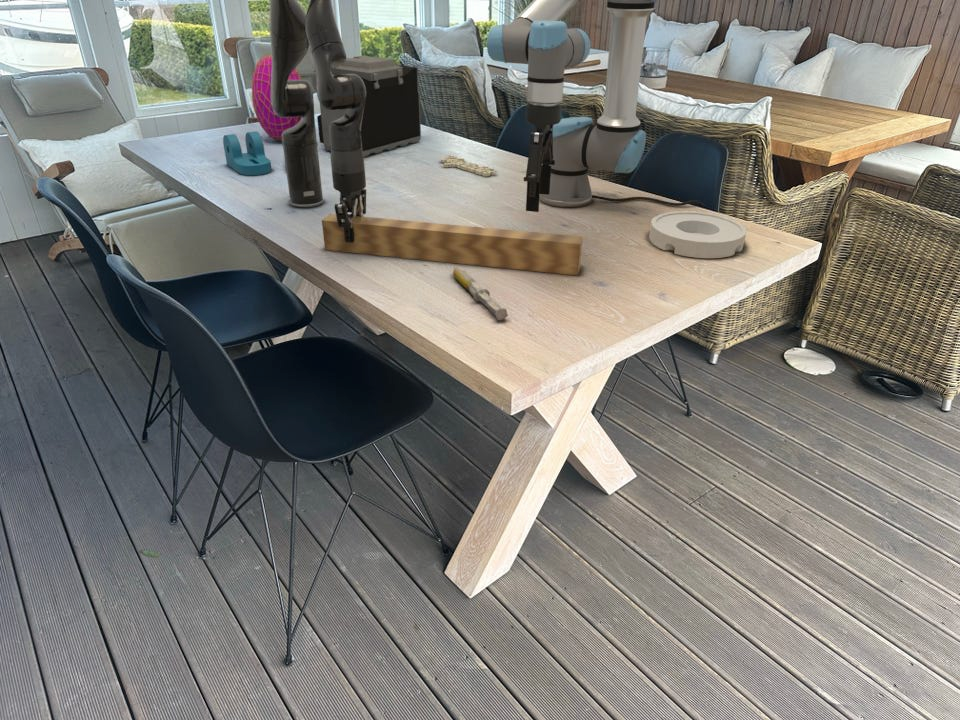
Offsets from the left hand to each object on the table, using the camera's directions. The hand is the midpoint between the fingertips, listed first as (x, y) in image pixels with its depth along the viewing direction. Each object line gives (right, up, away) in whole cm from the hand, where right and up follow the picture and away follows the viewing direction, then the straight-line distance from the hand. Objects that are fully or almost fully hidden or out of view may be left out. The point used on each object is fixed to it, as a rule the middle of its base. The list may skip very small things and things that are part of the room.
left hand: (354, 237), depth 166 cm
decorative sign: (+26, +35, +66) cm, 80 cm away
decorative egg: (-45, +55, +98) cm, 121 cm away
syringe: (+30, -16, -21) cm, 41 cm away
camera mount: (-46, +34, +63) cm, 85 cm away
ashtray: (+85, 0, +8) cm, 86 cm away
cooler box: (-10, +51, +92) cm, 105 cm away
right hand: (+44, +6, -12) cm, 46 cm away
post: (+23, -5, -3) cm, 24 cm away
